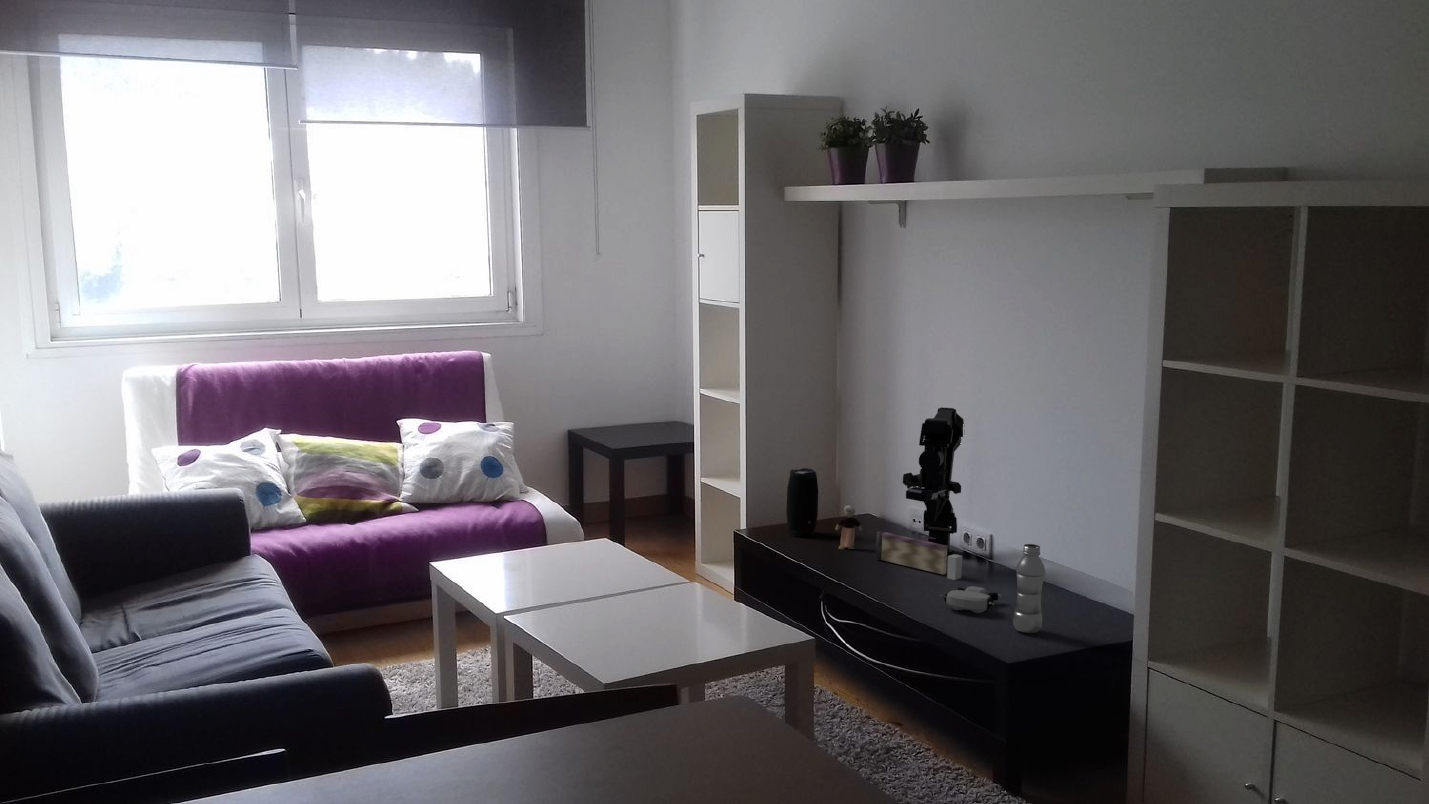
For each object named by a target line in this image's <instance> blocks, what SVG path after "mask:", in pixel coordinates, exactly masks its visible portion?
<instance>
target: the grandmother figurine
mask: <svg viewBox="0 0 1429 804" xmlns="http://www.w3.org/2000/svg"><path fill="white" fill-rule="evenodd" d="M843 512H844V515H845V516H843V517H842V518H840V519H839V521H837V524H836V525H835V526H836V527H835V528H834V529H835V530H836V531H838V530H840V527H841V526H842V528H841V534H840V535H841V536H840V545H839V546H838V549H839V550H845V549H846V548H848V549H847V550H849V549H854V550H855V547H854V545H855V537H856V535H855V533H856V532H855V530H856V529H855V527H857V528H858V530H859V531H860V532H862V531H863V527H862V523H861V521H859V520H858V519H857V518H855V517H854V515H855V514H856V510H855V508H854V507H853V506H852V505H845V506H844V508H843Z"/></svg>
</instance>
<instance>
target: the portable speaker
mask: <svg viewBox="0 0 1429 804" xmlns="http://www.w3.org/2000/svg"><path fill="white" fill-rule="evenodd" d="M789 471H790V472H789V477H788V482H787V483H788V484H787V487H786V509H785V511H786V523H787V530H788V531H787V532H788V533H789V534H790V536H791V537H796V538H797V537H798V538H802V536H804V535H809V536H810V537H813V536H815V533H816V532H815V531H816V527H817V521H818V516H819V515H818V514H819V513H818V512H819V484H818V476H817V472H816V471H815V470H814V469H812V468H808V467H802V468H800V469H799V468H798V469H790V470H789Z"/></svg>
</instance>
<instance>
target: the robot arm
mask: <svg viewBox="0 0 1429 804" xmlns="http://www.w3.org/2000/svg"><path fill="white" fill-rule="evenodd" d="M963 424H964V425H965V420H964V418H963V417H962V416H960V415H959V414H958V413H957V409H956V408H953V407H940V408H937V412H936V414H935V416H934V417H933V418H932V417H931V418H925V420H924V422H922V423H921V429H920V436H919V444H918V445H919V446H922V447H923V446H924V450H923V452H921V453H920V455H919V458H918V464H919V467H920V469H919V473H917V474H913V473H912V472H908V473H903V475H902V484H903V485H904V486H906V488H907V490H906V491H905V499H907V500H912V501H918V502H923V503H924V506H925V510H924V511H923V532H928V536H927V537H928V538H927V541H928V542H933V543H937V544H942V545H946V546H948V549H947V555H948V554H951V552H952V553H954V552H955V549H950V546H951V534H952V535H954V534H956V533H958V519H957V517H956V514H955V512H954V507H953V505H952V503H951V500H950V495H951V494H950V493H951V492H952V493H953V494H954V495H957V494H961V493H962V485H961V484H960V482H958V481H953V480H952V475H953V467H954V466H953V465H954V458H955V452H956V450H957V449H958V448H959V447H960V446H961V444H962V439H961V437H962V438H964V437H963ZM960 443H961V444H960Z"/></svg>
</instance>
